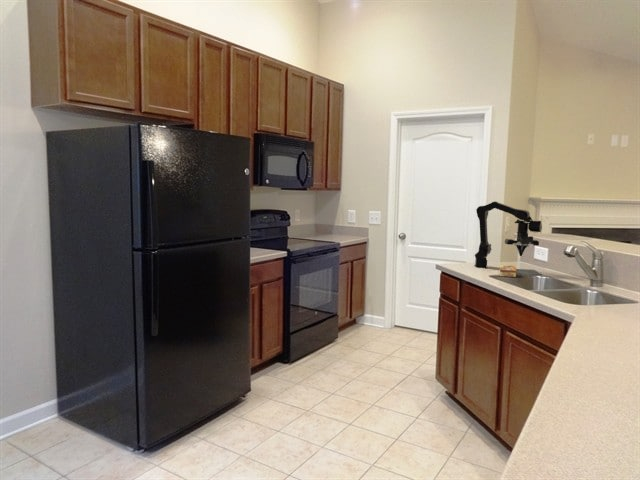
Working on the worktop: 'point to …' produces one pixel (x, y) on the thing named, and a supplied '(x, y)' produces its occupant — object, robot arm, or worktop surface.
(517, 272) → the mat
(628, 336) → the worktop surface
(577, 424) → the worktop surface
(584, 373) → the worktop surface
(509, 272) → the candy box
